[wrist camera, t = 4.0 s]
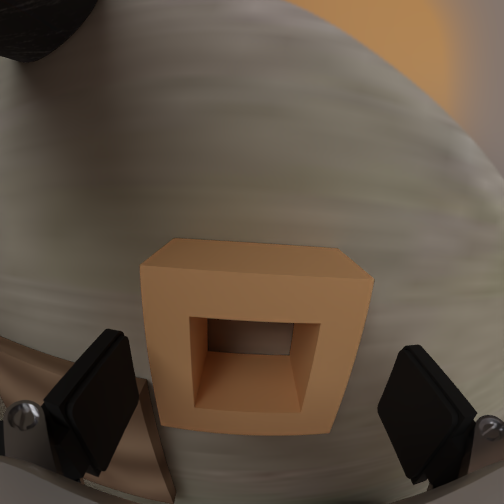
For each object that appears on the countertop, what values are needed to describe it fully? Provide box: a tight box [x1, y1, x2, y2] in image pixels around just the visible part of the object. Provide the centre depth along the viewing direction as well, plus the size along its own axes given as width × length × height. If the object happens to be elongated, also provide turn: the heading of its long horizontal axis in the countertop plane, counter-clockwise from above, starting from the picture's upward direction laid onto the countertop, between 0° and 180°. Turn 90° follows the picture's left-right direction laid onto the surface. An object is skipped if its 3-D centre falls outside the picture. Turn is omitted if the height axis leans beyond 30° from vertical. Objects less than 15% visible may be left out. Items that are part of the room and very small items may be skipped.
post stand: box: [0, 336, 176, 504], centre depth 10 cm, size 15×15×12 cm
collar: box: [140, 238, 374, 436], centre depth 11 cm, size 7×7×4 cm
